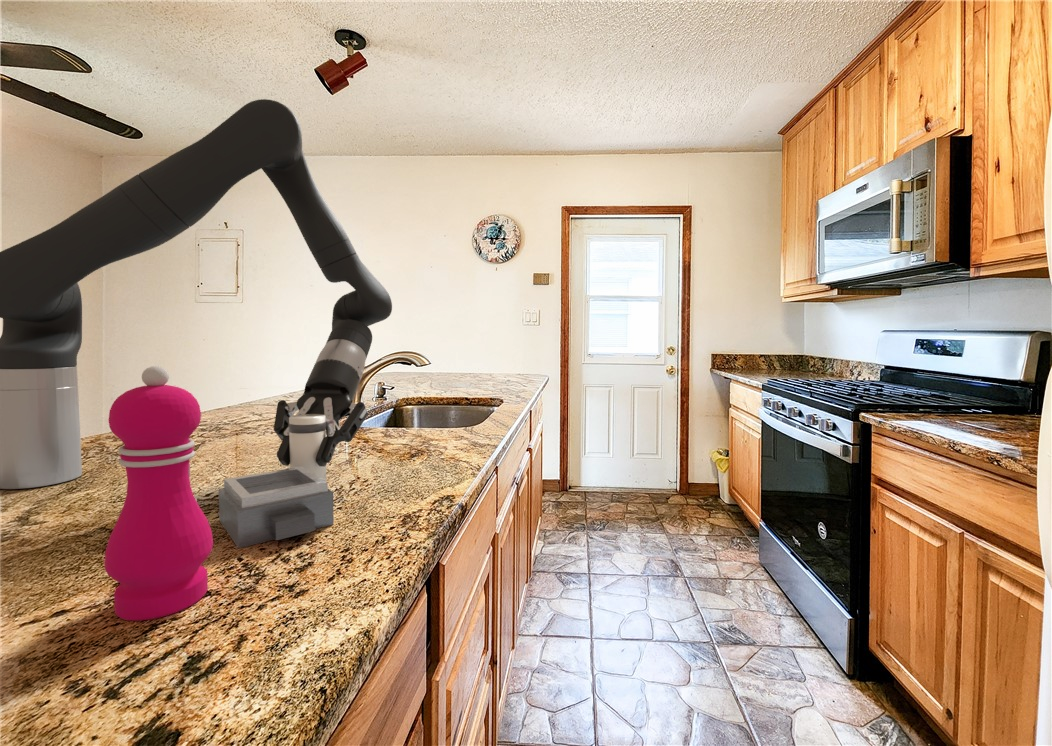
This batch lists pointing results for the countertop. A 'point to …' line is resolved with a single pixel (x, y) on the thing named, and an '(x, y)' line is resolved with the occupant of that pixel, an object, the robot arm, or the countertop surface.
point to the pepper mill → (157, 503)
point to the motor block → (274, 505)
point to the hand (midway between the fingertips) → (301, 462)
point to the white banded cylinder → (307, 442)
